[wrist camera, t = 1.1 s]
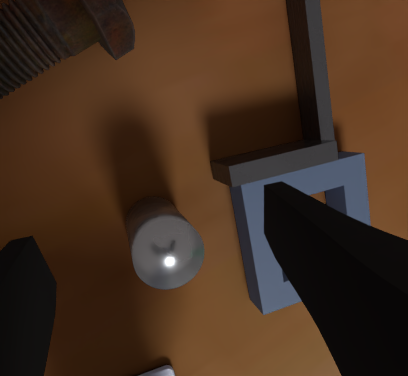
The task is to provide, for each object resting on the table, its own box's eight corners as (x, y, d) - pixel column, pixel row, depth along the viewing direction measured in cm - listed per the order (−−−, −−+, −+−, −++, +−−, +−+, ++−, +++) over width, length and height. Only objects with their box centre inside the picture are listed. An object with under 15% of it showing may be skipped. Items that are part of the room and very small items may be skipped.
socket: (353, 263, 26) (374, 274, 24) (250, 299, 24) (263, 315, 22) (341, 151, 24) (364, 153, 22) (228, 180, 22) (240, 184, 20)
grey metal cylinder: (183, 239, 22) (210, 276, 16) (132, 254, 21) (141, 298, 15) (172, 190, 21) (196, 211, 15) (120, 204, 20) (124, 231, 15)
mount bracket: (318, 153, 24) (352, 156, 20) (213, 179, 22) (232, 187, 18) (286, -110, 20) (321, -158, 17) (159, -106, 18) (170, -159, 15)
